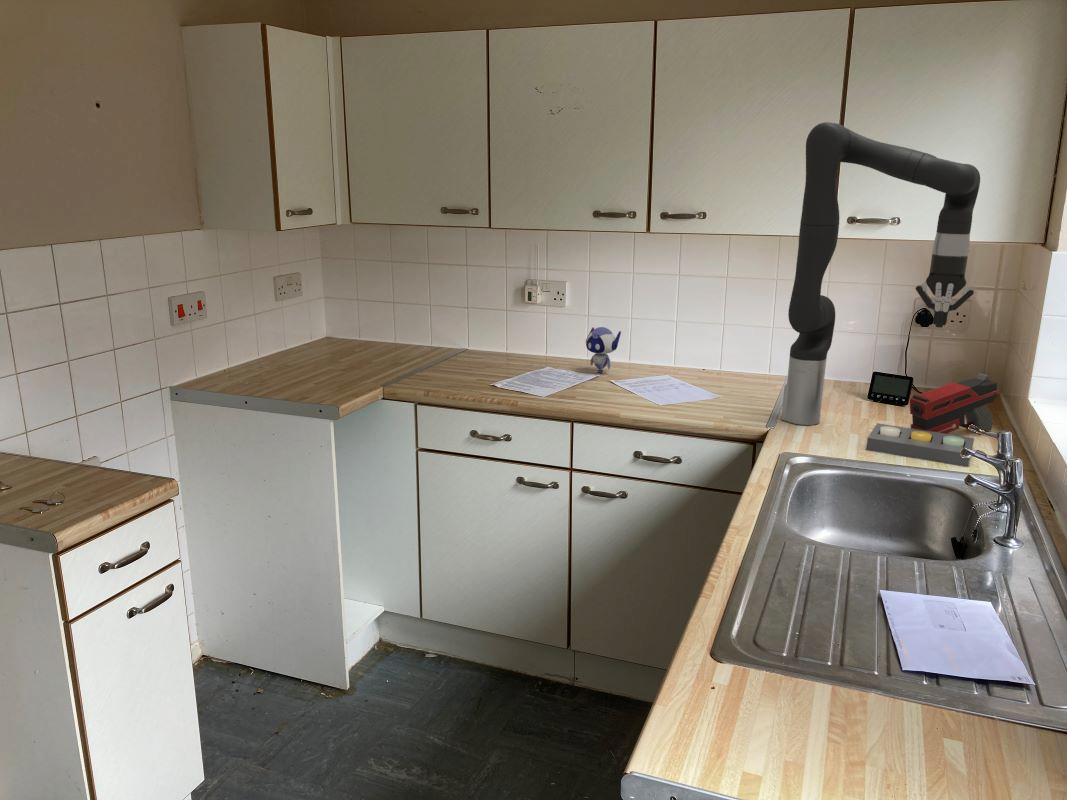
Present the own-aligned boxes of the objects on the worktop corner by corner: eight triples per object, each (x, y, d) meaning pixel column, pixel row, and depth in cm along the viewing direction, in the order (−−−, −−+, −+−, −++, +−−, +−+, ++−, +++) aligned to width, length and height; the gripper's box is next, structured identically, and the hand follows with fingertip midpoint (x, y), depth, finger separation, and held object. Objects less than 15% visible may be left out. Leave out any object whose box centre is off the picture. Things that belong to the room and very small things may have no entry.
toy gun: (999, 428, 218) (998, 374, 213) (926, 457, 212) (924, 401, 207) (982, 422, 223) (981, 369, 218) (910, 450, 217) (907, 396, 212)
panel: (865, 449, 203) (867, 437, 202) (875, 434, 215) (877, 423, 214) (967, 466, 193) (969, 454, 192) (972, 449, 204) (974, 438, 204)
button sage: (940, 453, 200) (942, 439, 199) (942, 448, 203) (944, 434, 202) (961, 457, 197) (963, 442, 196) (962, 451, 201) (964, 437, 200)
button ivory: (877, 443, 206) (879, 429, 205) (880, 438, 210) (882, 425, 209) (896, 446, 204) (898, 432, 203) (899, 441, 208) (901, 428, 207)
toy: (577, 373, 272) (579, 327, 268) (594, 367, 280) (595, 323, 276) (606, 378, 267) (608, 331, 262) (622, 372, 274) (624, 327, 270)
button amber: (908, 448, 203) (910, 434, 202) (910, 443, 207) (912, 429, 206) (928, 451, 201) (930, 437, 200) (930, 446, 204) (932, 432, 203)
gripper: (917, 252, 196) (907, 326, 201) (981, 256, 190) (969, 332, 195) (921, 250, 203) (911, 321, 207) (983, 253, 196) (971, 327, 201)
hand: (939, 326), depth 201 cm, fingers closed
